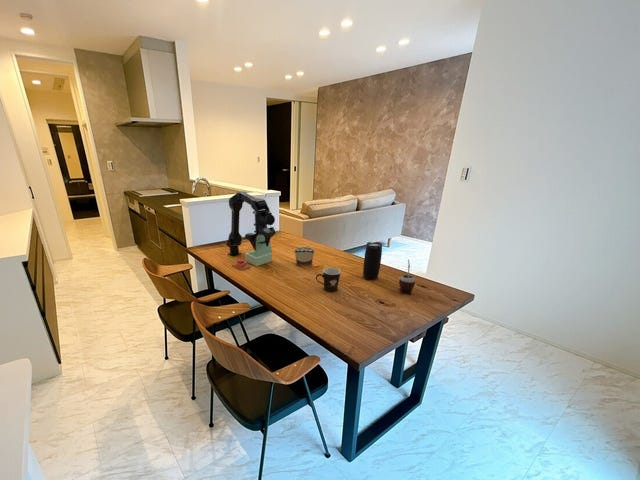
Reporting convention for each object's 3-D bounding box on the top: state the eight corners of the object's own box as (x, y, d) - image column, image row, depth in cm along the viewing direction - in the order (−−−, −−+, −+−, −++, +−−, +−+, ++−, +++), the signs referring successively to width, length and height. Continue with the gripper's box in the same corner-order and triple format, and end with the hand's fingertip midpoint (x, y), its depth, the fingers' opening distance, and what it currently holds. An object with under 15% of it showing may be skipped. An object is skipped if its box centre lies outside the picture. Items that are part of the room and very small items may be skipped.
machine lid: (251, 237, 178) (256, 237, 174) (267, 233, 186) (272, 233, 182) (255, 257, 181) (260, 257, 177) (271, 252, 188) (276, 252, 185)
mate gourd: (406, 296, 144) (411, 267, 138) (393, 289, 150) (397, 262, 144) (416, 292, 147) (422, 264, 141) (403, 286, 153) (408, 259, 147)
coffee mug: (340, 286, 154) (341, 269, 150) (337, 294, 147) (339, 275, 143) (318, 284, 158) (319, 266, 154) (314, 291, 151) (315, 272, 146)
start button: (236, 262, 182) (236, 260, 181) (241, 261, 184) (241, 258, 183) (240, 264, 179) (239, 261, 178) (244, 262, 181) (244, 260, 180)
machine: (245, 261, 191) (245, 253, 189) (260, 256, 198) (260, 249, 196) (256, 266, 183) (256, 258, 181) (272, 261, 190) (271, 253, 188)
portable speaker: (376, 274, 168) (381, 241, 160) (379, 281, 159) (384, 246, 151) (361, 273, 169) (365, 240, 161) (363, 280, 161) (367, 246, 153)
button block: (232, 266, 184) (231, 261, 183) (240, 263, 188) (240, 258, 187) (241, 270, 177) (241, 265, 176) (250, 267, 181) (249, 263, 180)
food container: (313, 261, 188) (314, 246, 184) (314, 265, 182) (314, 250, 178) (294, 261, 189) (294, 246, 185) (294, 265, 183) (294, 249, 179)
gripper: (255, 227, 158) (257, 255, 164) (281, 221, 169) (281, 247, 175) (243, 224, 166) (245, 250, 172) (269, 218, 177) (269, 243, 183)
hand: (261, 248), depth 175 cm, fingers open, 9 cm apart
